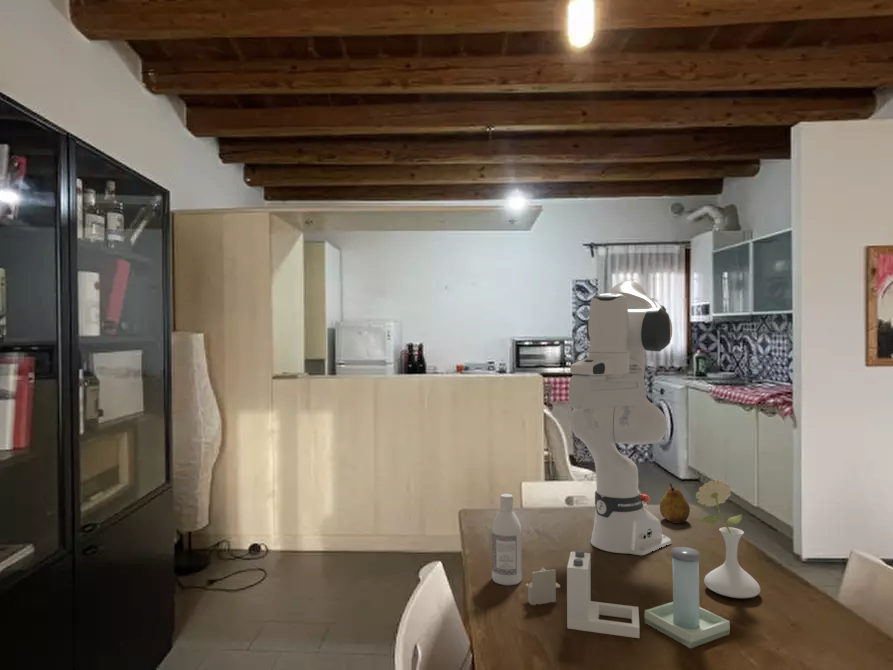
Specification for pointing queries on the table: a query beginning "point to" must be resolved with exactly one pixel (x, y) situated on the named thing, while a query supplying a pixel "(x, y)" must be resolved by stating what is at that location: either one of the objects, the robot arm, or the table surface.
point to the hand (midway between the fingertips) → (608, 427)
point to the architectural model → (542, 587)
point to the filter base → (594, 603)
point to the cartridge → (685, 587)
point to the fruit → (674, 506)
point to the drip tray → (691, 638)
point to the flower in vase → (730, 574)
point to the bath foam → (506, 544)
